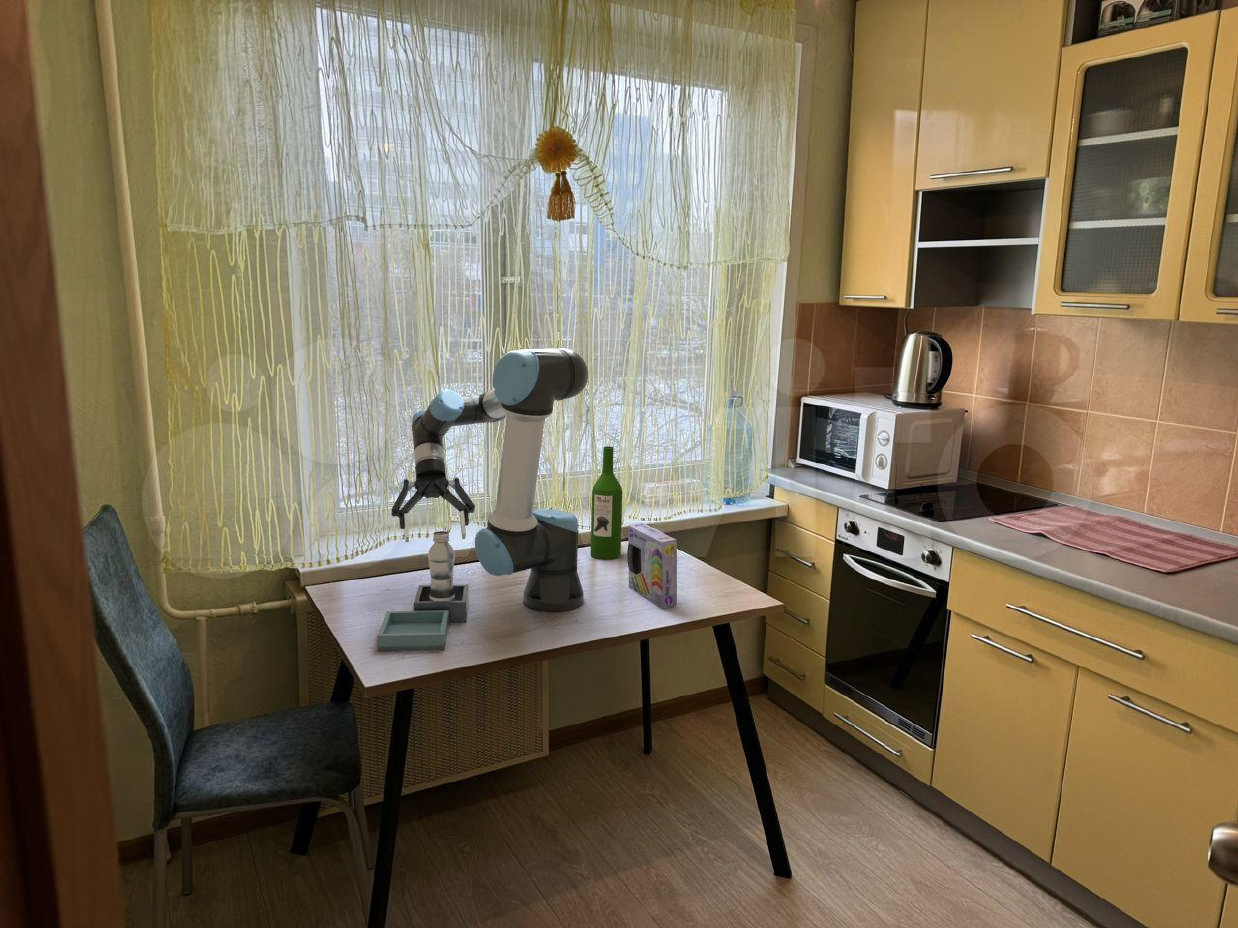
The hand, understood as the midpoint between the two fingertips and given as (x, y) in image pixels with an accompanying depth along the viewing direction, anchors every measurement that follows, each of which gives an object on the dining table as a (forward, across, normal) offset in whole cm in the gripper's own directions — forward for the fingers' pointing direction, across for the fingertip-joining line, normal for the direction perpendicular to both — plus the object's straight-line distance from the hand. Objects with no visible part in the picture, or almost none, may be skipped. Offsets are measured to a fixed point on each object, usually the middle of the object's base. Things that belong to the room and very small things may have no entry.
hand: (435, 538), depth 211 cm
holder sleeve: (+17, -1, -7) cm, 18 cm away
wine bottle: (-8, -51, -32) cm, 61 cm away
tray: (+26, +7, +3) cm, 27 cm away
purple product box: (+17, -53, -7) cm, 56 cm away
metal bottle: (+17, -1, -7) cm, 18 cm away
